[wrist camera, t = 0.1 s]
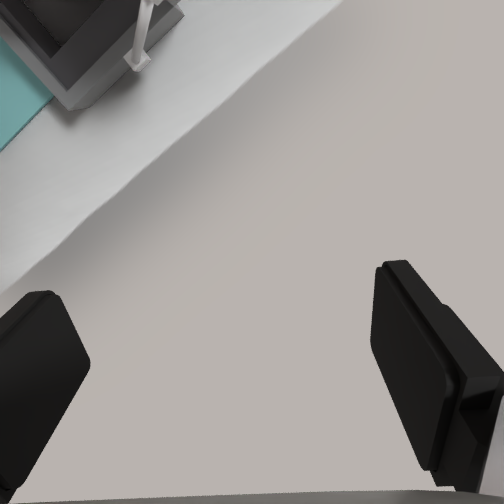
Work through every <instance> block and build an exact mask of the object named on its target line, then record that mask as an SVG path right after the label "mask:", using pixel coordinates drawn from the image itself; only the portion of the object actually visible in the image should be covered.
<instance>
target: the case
mask: <svg viewBox="0 0 504 504" xmlns="http://www.w3.org/2000/svg"><path fill="white" fill-rule="evenodd" d="M179 1H180V0H104V2H103V3H102V4H101V5H100V6H99V7H98V8H97V9H96V10H95V11H94V12H93V13H92V15H91V16H90V17H89V18H88V19H87V20H86V21H85V22H84V23H83V24H82V25H81V27H80V28H79V29H78V30H77V31H76V32H75V33H74V34H73V35H72V36H71V37H70V39H69V40H68V41H67V42H66V43H65V44H64V45H63V46H62V47H60V46H59V45H58V43H57V42H56V41H55V40H54V39H53V38H52V36H51V35H50V34H49V33H48V32H47V30H46V29H45V28H44V27H43V26H42V25H41V23H40V22H39V21H38V20H37V19H36V18H35V16H34V15H33V14H32V13H31V12H30V10H29V9H28V8H27V7H26V6H25V5H24V3H23V2H22V1H21V0H0V36H1V37H2V39H3V40H4V41H5V42H6V43H7V44H8V45H9V46H10V47H11V48H12V50H13V51H14V52H15V53H16V54H17V55H18V56H19V57H20V58H21V59H22V61H23V62H24V63H25V64H26V65H27V66H28V67H29V68H30V69H31V70H32V71H33V73H34V74H35V75H36V76H37V77H38V78H39V79H40V80H41V81H42V82H43V84H44V85H45V86H46V87H47V88H48V89H49V90H50V91H51V92H52V93H53V95H54V96H55V97H56V98H57V99H58V100H59V101H60V102H61V103H62V104H63V106H64V107H65V108H66V109H67V110H68V111H72V110H77V109H83V108H89V107H90V106H91V105H92V104H93V103H95V102H96V101H97V100H98V99H99V98H100V97H101V96H102V95H103V94H104V93H105V92H106V91H107V90H108V89H109V88H110V87H111V86H112V85H113V84H114V83H115V82H116V81H117V80H118V79H119V78H120V77H121V76H122V75H123V74H124V73H125V72H127V71H128V70H129V69H130V68H132V69H133V71H138V72H140V71H141V70H142V69H143V68H144V67H145V66H146V65H147V64H148V63H149V62H150V61H151V59H150V58H149V56H148V55H147V54H146V52H147V51H148V50H149V49H150V48H151V47H152V46H153V45H154V44H155V43H156V42H158V41H159V40H160V39H161V38H162V37H163V36H164V35H165V34H166V33H167V32H168V31H169V30H170V29H171V28H172V27H173V26H174V25H175V24H176V23H177V22H178V21H179V20H180V19H181V18H182V17H183V16H184V14H183V12H182V11H181V9H180V8H179V6H178V5H177V3H178V2H179Z"/></svg>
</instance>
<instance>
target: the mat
mask: <svg viewBox="0 0 504 504" xmlns="http://www.w3.org/2000/svg"><path fill="white" fill-rule="evenodd" d="M53 97H54V95H53V93H52V92H51V91H50V90H49V89H48V88H47V87H46V86H45V85H44V84H43V82H42V81H41V80H40V79H39V78H38V77H37V76H36V75H35V74H34V73H33V71H32V70H31V69H30V68H29V67H28V66H27V65H26V64H25V63H24V62H23V61H22V59H21V58H20V57H19V56H18V55H17V54H16V53H15V52H14V51H13V50H12V48H11V47H10V46H9V45H8V44H7V43H6V42H5V41H4V40H3V39H2V37H1V36H0V152H1V150H2V149H3V148H4V147H5V146H6V145H7V144H8V143H9V142H10V141H11V140H12V139H13V138H14V137H15V136H16V135H17V134H18V133H19V132H20V131H21V130H22V129H23V128H24V127H25V126H26V125H27V124H28V123H29V122H30V121H31V120H32V118H33V117H34V116H35V115H36V114H37V113H38V112H39V111H40V110H41V109H42V108H43V107H44V106H45V105H46V104H47V103H48V102H49V101H50V100H51V99H52V98H53Z"/></svg>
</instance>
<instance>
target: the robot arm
mask: <svg viewBox="0 0 504 504" xmlns="http://www.w3.org/2000/svg"><path fill="white" fill-rule="evenodd" d="M373 299H374V300H373V311H372V325H371V336H370V342H371V348H372V352H373V354H374V357H375V359H376V361H377V364H378V366H379V369H380V371H381V373H382V376H383V378H384V380H385V383H386V385H387V388H388V390H389V393H390V395H391V397H392V400H393V402H394V405H395V407H396V409H397V412H398V414H399V417H400V419H401V421H402V424H403V426H404V429H405V431H406V433H407V436H408V438H409V441H410V443H411V445H412V448H413V450H414V453H415V455H416V457H417V460H418V462H419V464H420V466H421V468H422V469H423V470H424V471H427V470H428V471H429V470H430V473H431V475H432V477H433V479H434V482H435V484H436V486H437V487H439V486H454V488H455V490H456V492H454V491H453V492H452V491H425V490H396V491H395V490H394V491H333V492H331V491H330V492H303V493H302V492H301V493H272V494H243V495H215V496H187V497H164V498H163V497H162V498H137V499H113V500H87V501H63V502H40V503H19V504H504V372H503V371H502V369H501V368H500V367H499V365H498V364H497V363H496V362H495V361H494V359H493V358H492V357H491V356H490V355H489V353H488V352H487V351H486V350H485V349H484V347H483V346H482V345H481V344H480V343H479V342H478V340H477V339H476V338H475V337H474V336H473V334H472V333H471V332H470V331H469V330H468V328H467V327H466V326H465V325H464V324H463V322H462V321H461V320H460V319H459V318H458V316H457V315H456V314H455V313H454V312H453V310H452V309H451V308H449V306H447V305H445V304H442V303H441V302H440V300H439V299H438V298H437V297H436V296H435V294H434V293H433V292H432V291H431V289H430V288H429V287H428V286H427V284H426V283H425V282H424V281H423V280H422V279H421V277H420V276H419V275H418V273H417V272H416V271H415V270H414V268H412V266H411V265H410V264H409V262H408V261H407V260H396V261H385V262H384V263H383V264H382V267H377V269H376V273H375V286H374V298H373ZM89 369H90V358H89V356H88V354H87V353H86V350H85V348H84V346H83V344H82V342H81V339H80V337H79V335H78V333H77V331H76V329H75V327H74V325H73V323H72V320H71V318H70V316H69V314H68V312H67V310H66V308H65V306H64V304H63V302H62V300H61V298H60V296H58V295H56V294H55V293H54V292H53V291H50V290H47V291H35V292H29V293H27V294H26V295H25V296H24V297H23V298H21V299H20V300H19V301H18V302H17V303H16V304H15V305H14V306H13V307H12V308H11V309H10V310H9V311H8V312H6V313H5V314H4V315H3V316H2V317H1V318H0V504H8V503H9V501H10V500H11V498H12V496H13V495H14V493H15V491H16V489H17V488H19V487H20V486H21V485H22V484H23V483H24V482H25V480H26V479H27V477H28V475H29V474H30V472H31V470H32V469H33V467H34V465H35V463H36V462H37V460H38V458H39V456H40V455H41V453H42V451H43V449H44V447H45V446H46V444H47V443H48V441H49V439H50V437H51V436H52V434H53V432H54V430H55V428H56V427H57V425H58V423H59V422H60V420H61V418H62V416H63V415H64V413H65V411H66V410H67V408H68V406H69V404H70V403H71V401H72V399H73V398H74V396H75V394H76V392H77V391H78V389H79V387H80V385H81V384H82V382H83V380H84V378H85V377H86V375H87V373H88V371H89Z"/></svg>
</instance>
